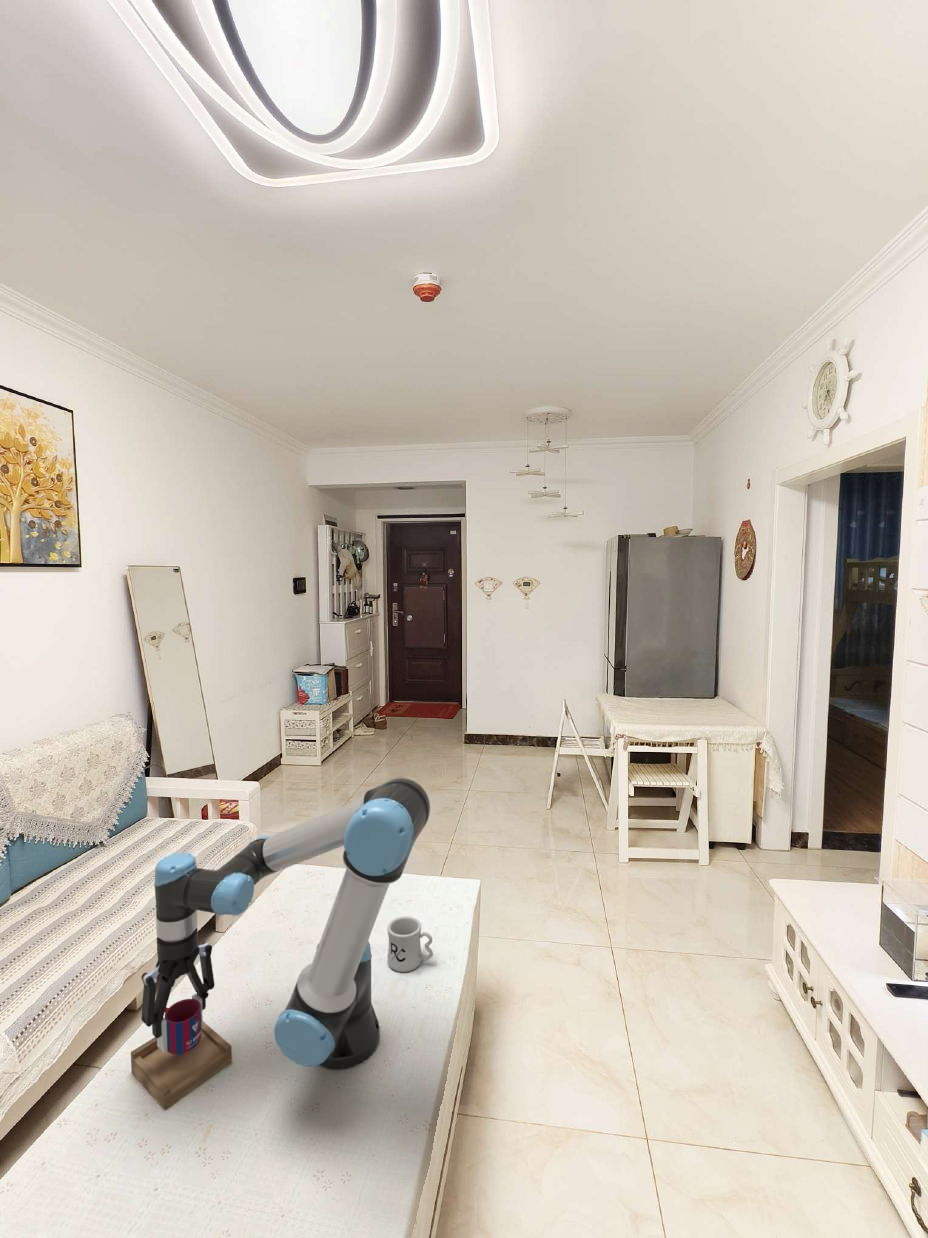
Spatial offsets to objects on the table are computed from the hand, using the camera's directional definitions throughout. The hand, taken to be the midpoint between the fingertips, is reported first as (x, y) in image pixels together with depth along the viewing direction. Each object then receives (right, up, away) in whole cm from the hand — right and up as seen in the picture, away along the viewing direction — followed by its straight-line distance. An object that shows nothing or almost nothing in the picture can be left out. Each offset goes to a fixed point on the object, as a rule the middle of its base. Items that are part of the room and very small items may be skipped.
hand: (180, 1037), depth 121 cm
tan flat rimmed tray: (0, -7, 0) cm, 7 cm away
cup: (-1, -1, 0) cm, 1 cm away
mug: (+45, -4, +33) cm, 56 cm away
